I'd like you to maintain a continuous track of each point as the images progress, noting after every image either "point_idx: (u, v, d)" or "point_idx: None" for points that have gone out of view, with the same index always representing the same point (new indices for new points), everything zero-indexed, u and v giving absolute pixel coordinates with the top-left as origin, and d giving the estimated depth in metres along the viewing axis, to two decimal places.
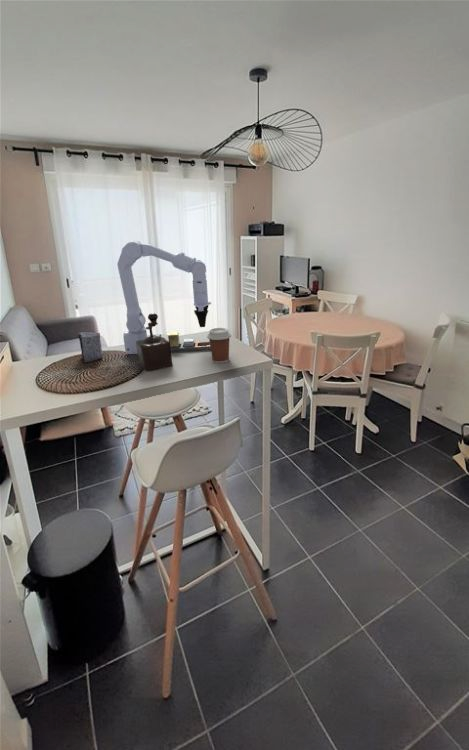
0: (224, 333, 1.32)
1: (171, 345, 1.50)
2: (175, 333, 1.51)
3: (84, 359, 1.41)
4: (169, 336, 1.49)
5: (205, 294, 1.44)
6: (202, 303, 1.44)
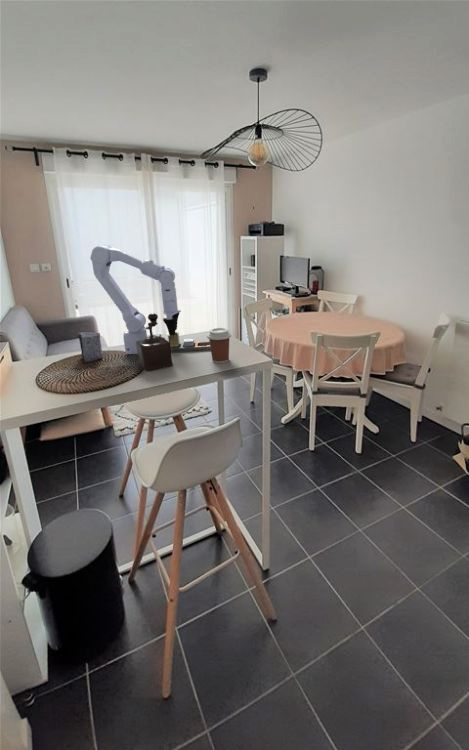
0: (224, 333, 1.32)
1: (171, 345, 1.50)
2: (175, 333, 1.51)
3: (84, 359, 1.41)
4: (169, 336, 1.49)
5: (174, 302, 1.44)
6: (171, 311, 1.44)
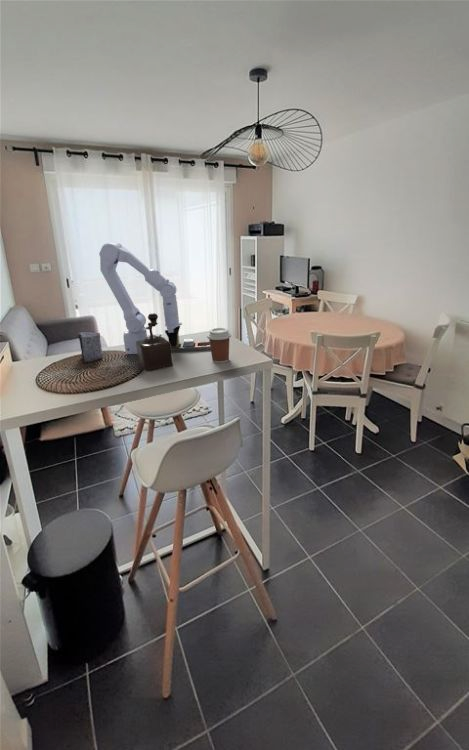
0: (224, 333, 1.32)
1: None
2: None
3: (84, 359, 1.41)
4: None
5: (175, 315, 1.46)
6: (172, 324, 1.46)
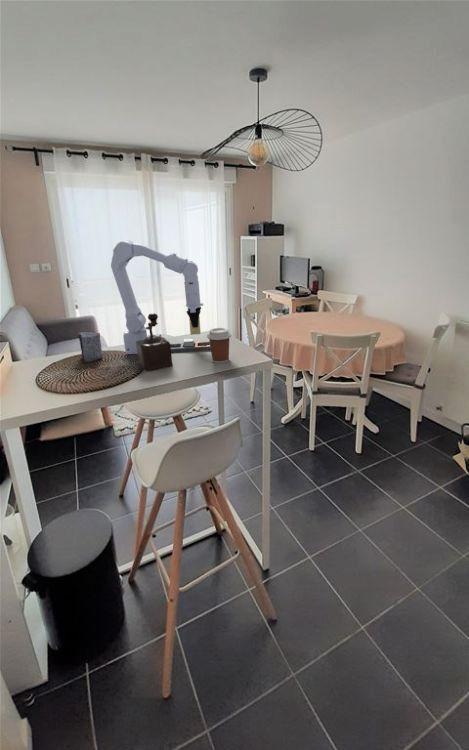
0: (224, 333, 1.32)
1: (192, 328, 1.48)
2: None
3: (84, 359, 1.41)
4: None
5: (197, 295, 1.43)
6: (194, 304, 1.44)
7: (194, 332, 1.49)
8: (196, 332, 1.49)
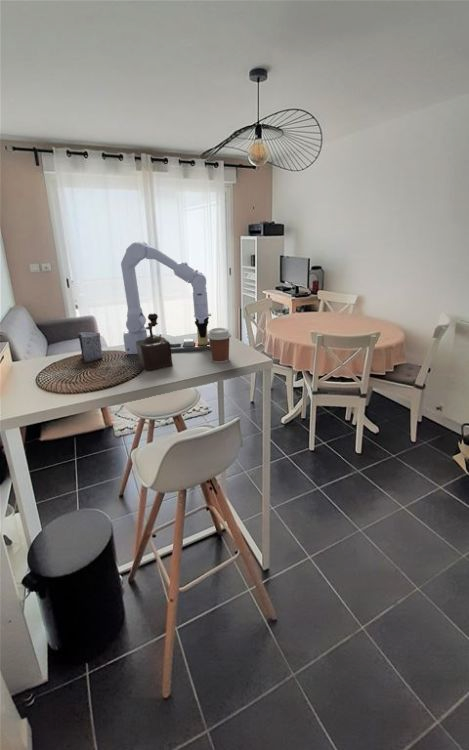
0: (224, 333, 1.32)
1: (200, 338, 1.50)
2: None
3: (84, 359, 1.41)
4: None
5: (205, 306, 1.45)
6: (202, 315, 1.45)
7: (202, 342, 1.51)
8: (204, 342, 1.51)
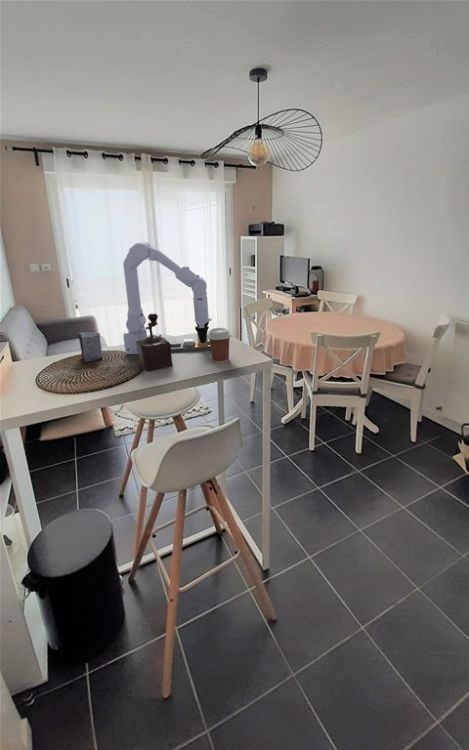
0: (224, 333, 1.32)
1: (200, 343, 1.51)
2: None
3: (84, 359, 1.41)
4: None
5: (206, 311, 1.46)
6: (203, 320, 1.46)
7: None
8: None
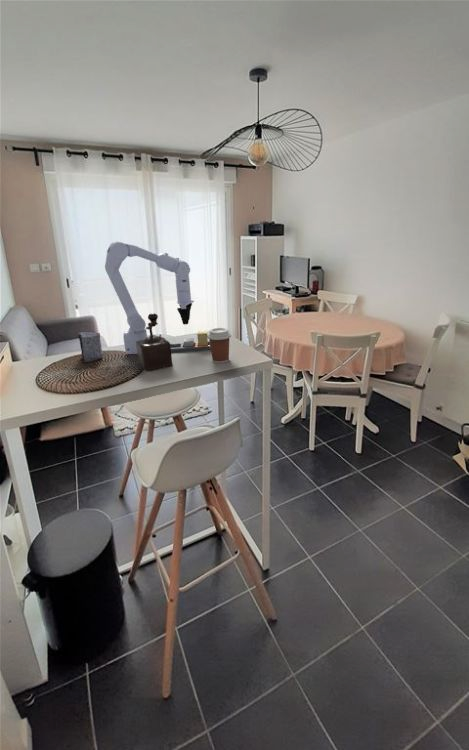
0: (224, 333, 1.32)
1: (200, 343, 1.51)
2: (204, 331, 1.51)
3: (84, 359, 1.41)
4: (198, 334, 1.49)
5: (188, 292, 1.50)
6: (185, 301, 1.50)
7: None
8: None
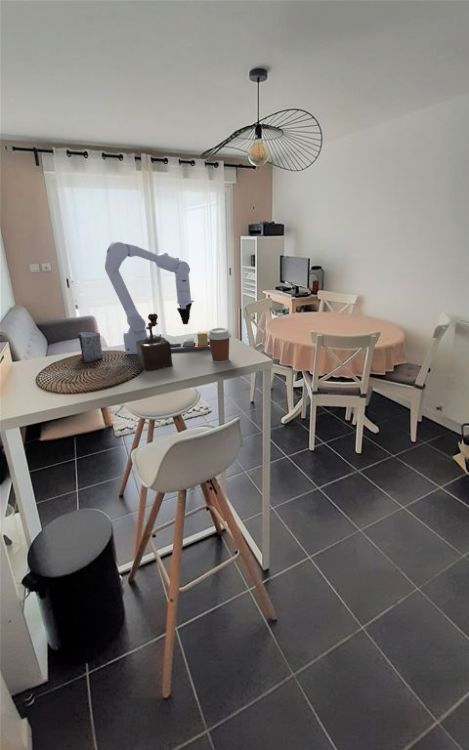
0: (224, 333, 1.32)
1: (200, 343, 1.51)
2: (204, 331, 1.51)
3: (84, 359, 1.41)
4: (198, 334, 1.49)
5: (188, 292, 1.50)
6: (185, 301, 1.50)
7: None
8: None
